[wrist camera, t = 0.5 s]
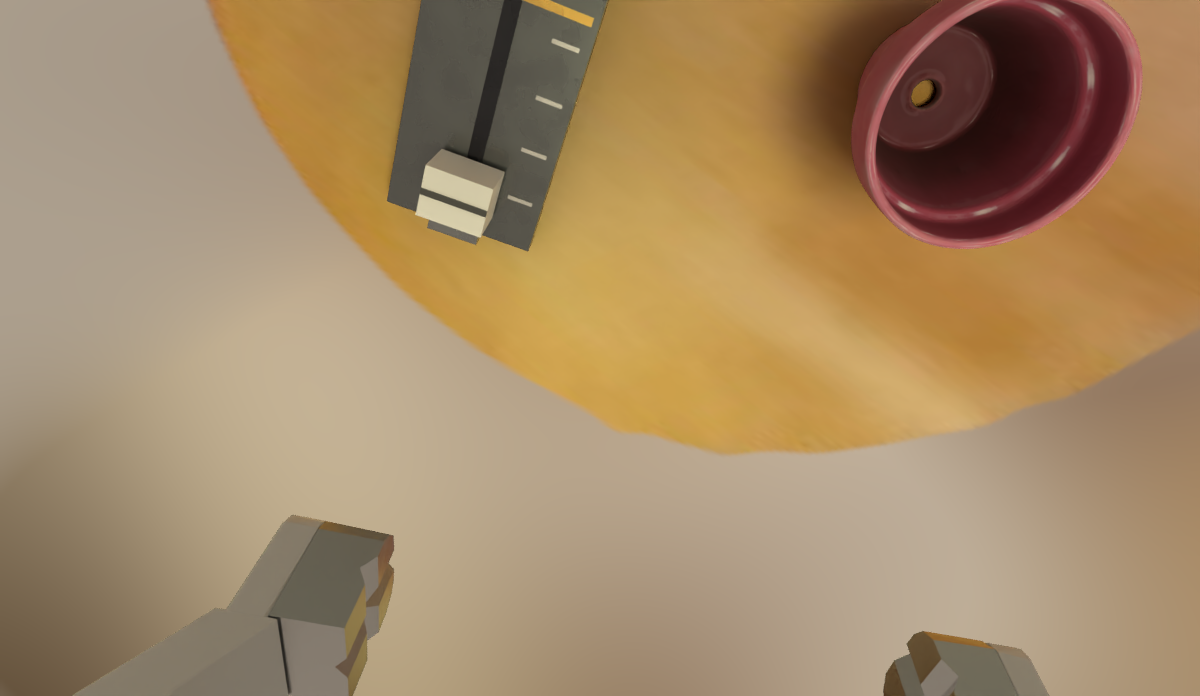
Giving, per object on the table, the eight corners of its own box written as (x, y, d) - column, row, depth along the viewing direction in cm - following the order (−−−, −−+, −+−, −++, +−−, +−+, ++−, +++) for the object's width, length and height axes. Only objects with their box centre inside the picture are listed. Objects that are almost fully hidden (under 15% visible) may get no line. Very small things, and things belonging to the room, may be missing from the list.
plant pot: (855, -43, 43) (919, -33, 32) (1070, -18, 42) (1207, 1, 32) (798, 170, 50) (834, 236, 40) (978, 193, 50) (1064, 264, 39)
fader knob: (441, 148, 49) (425, 165, 46) (504, 171, 50) (492, 189, 46) (431, 196, 51) (415, 215, 48) (492, 217, 52) (480, 238, 48)
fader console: (456, -149, 41) (437, -155, 38) (632, -74, 43) (629, -74, 39) (395, 192, 54) (377, 210, 51) (532, 241, 55) (523, 261, 52)
